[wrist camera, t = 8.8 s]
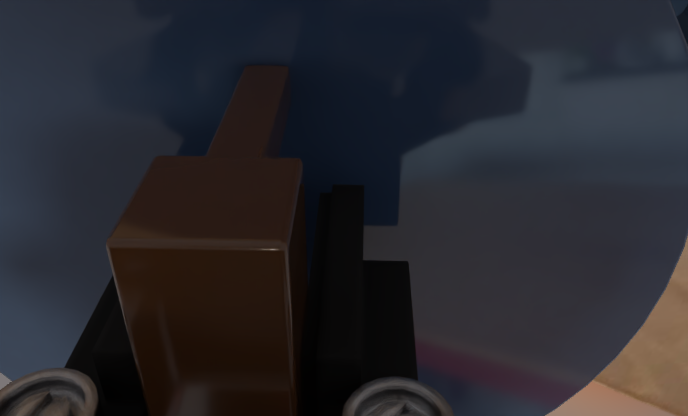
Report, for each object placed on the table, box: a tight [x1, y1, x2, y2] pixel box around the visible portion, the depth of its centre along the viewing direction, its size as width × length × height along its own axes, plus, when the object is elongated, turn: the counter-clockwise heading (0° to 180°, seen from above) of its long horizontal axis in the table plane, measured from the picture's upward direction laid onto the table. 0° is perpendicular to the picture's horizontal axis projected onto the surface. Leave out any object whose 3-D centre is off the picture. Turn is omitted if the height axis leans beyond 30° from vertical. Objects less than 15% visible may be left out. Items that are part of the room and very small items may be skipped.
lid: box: [0, 0, 688, 416], centre depth 10 cm, size 15×15×6 cm
